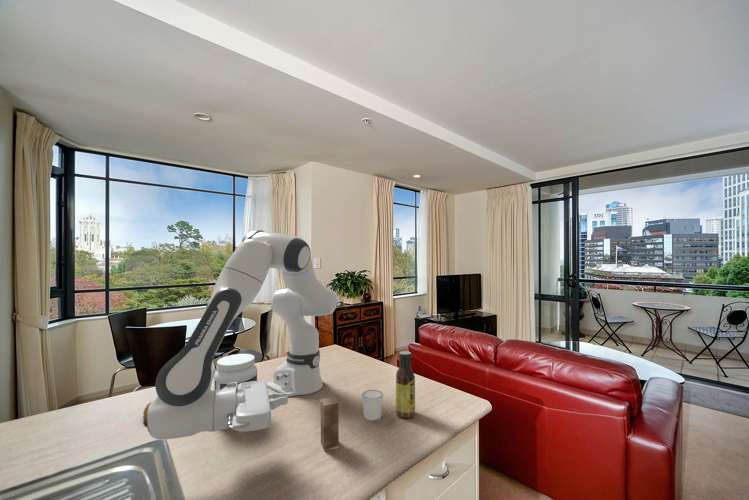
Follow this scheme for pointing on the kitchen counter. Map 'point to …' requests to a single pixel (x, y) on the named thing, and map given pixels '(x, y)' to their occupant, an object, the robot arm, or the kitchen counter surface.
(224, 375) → the supplement tub
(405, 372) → the sauce bottle
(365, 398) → the white tapered cylinder
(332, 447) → the walnut block
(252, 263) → the robot arm
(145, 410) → the croissant
